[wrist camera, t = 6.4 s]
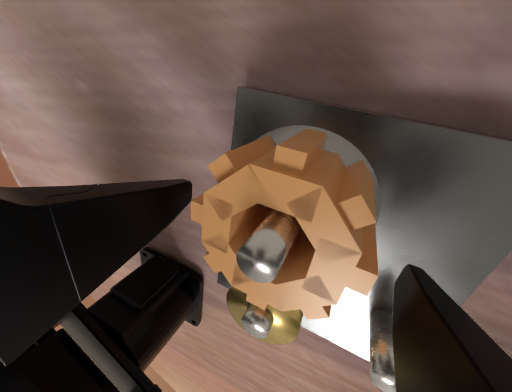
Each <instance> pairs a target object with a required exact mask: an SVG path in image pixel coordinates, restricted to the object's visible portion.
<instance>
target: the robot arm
mask: <svg viewBox="0 0 512 392" xmlns="http://www.w3.org/2000/svg"><path fill="white" fill-rule="evenodd" d="M191 199H192V183H191V182H190V181H188V180H185V179H175V180H159V181H143V182H127V183H111V184H99V185H97V184H94V185H77V186H50V187H16V188H15V187H0V392H120V391H121V392H162V390H161V389H160V388H159V387H158V385H154V384H153V383H152V381H151V380H150V379H149V378H148V377H147V376H146V375H145V374H144V371H145V369H146V368H147V367H148V366H149V365H150V363H151V362H152V361H153V360H154V358H155V357H156V356H157V355H158V353H159V352H160V351H161V350H162V348H163V347H164V346H165V345H166V343H167V342H168V341H169V340H170V338H171V337H172V336H173V335H174V333H175V332H176V331H177V330H178V329H179V327H180V326H181V325H182V324H183V322H184V321H187V322H189V323H190V324H192V325H194V326H198V325H199V323H200V322H201V309H202V292H203V278H202V277H201V276H200V275H199V274H197V273H195V272H193V271H192V270H190V269H188V268H186V267H184V266H182V265H180V264H178V263H176V262H174V261H172V260H170V259H169V258H167V257H165V256H163V255H161V254H159V253H157V252H155V251H153V250H151V249H149V248H147V247H145V248H143V247H144V246H145V245H147V244H148V243H149V242H150V241H151V240H152V239H153V238H155V237H156V236H157V235H158V234H159V233H160V232H161V231H163V230H164V229H165V228H166V227H167V226H168V225H169V224H170V223H171V222H172V221H173V220H174V219H175V218H176V217H177V216H178V215H179V214H180V213H181V212H182V210H183V209H184V208H185V207H186V206H187V205H188V204H189V203H190V201H191ZM142 248H143V249H142ZM141 249H142V250H141ZM140 250H141V251H140ZM139 251H140V254H141V262H142V265H141V266H139V267H138V268H137V269H135V270H134V271H133V272H131V273H130V274H129V275H127V276H126V277H125V278H123V279H122V280H121V281H119V282H118V283H117V284H115V285H114V286H113V287H112V288H111V289H110V292H108V293H107V294H106V295H104V296H103V297H102V298H100V299H99V300H98V301H96V302H95V303H94V304H93V305H91V306H90V307H89V308H87V309H86V307H85V306H84V305H83V304H82V303H81V301H82V300H84V299H85V298H86V297H87V296H88V295H89V294H90V293H92V292H93V291H94V290H95V289H96V288H97V287H98V286H100V285H101V284H102V283H103V282H104V281H105V280H106V279H108V278H109V277H110V276H111V275H112V274H113V273H114V272H116V271H117V270H118V269H119V268H120V267H121V266H122V265H124V264H125V263H126V262H127V261H128V260H129V259H130V258H132V257H133V256H134V255H135V254H136V253H137V252H139ZM59 324H60V325H62V326H63V328H64V329H65V330H66V331H67V332H68V333H69V334H68V333H67V332H66V331H65V330H64V329H60V330H58V331H56V330H55V329H54V328H55V327H57V326H58V325H59ZM72 338H73V339H74V340H75V341H76V342H77V343H78V344H77V343H76V342H75V341H74V340H73V339H72ZM392 340H393V355H394V369H395V383H396V392H512V359H511V358H510V357H509V356H508V355H507V354H506V353H505V352H504V351H503V350H502V349H501V348H500V347H499V346H498V345H497V344H496V343H495V342H494V341H493V340H492V339H491V338H490V337H489V336H488V335H487V334H486V333H485V332H484V331H483V330H482V328H481V327H480V326H479V325H478V324H477V323H476V322H475V321H474V320H473V319H472V318H471V317H470V316H469V315H468V314H467V313H466V312H465V311H464V310H463V309H462V308H461V307H460V306H459V305H458V304H457V303H456V302H455V301H454V300H453V299H452V298H451V297H450V296H449V295H448V294H447V293H446V292H445V291H444V290H443V289H442V288H441V287H440V286H439V285H438V284H437V283H436V282H435V281H434V280H433V279H432V278H431V277H430V276H429V275H428V274H427V273H426V272H425V271H424V270H423V269H422V268H420V267H417V266H414V265H412V264H407V265H406V266H405V267H404V269H403V270H402V272H401V273H400V275H399V276H398V278H397V279H396V281H395V284H394V295H393V312H392ZM81 348H82V349H83V350H84V351H85V352H86V353H87V354H86V353H85V352H84V351H83V350H82V349H81ZM90 358H91V359H92V360H93V361H94V362H95V363H96V364H95V363H94V362H93V361H92V360H91V359H90ZM99 368H100V369H101V370H102V371H103V372H104V373H103V372H102V371H101V370H100V369H99ZM107 377H108V378H109V379H110V380H111V381H112V382H113V383H112V382H111V381H110V380H109V379H108V378H107ZM116 387H117V388H118V389H119V390H120V391H119V390H118V389H117V388H116Z"/></svg>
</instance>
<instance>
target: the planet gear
mask: <svg viewBox="0 0 512 392" xmlns="http://www.w3.org/2000/svg"><path fill="white" fill-rule="evenodd" d="M327 134H328V133H325V132H320V131H316V130H312V129H308V128H306V129H304V130H303V131H301V132H299V133H297V134H296V135H294V136H292V137H290V138H288V139H287V140H285V141H283V142H281V143H280V144H278V145H277V146H276V147H275V145H274V143H273V142H272V140H271V138H270V137H269V135H268V136H265V137H263V138H260V139H258V140H256V141H253V142H251V143H248V144H246V145H243V146H241V147H239V148H236V149H234V150H231V151H229V152H226V153H225V154H223V155H222V156H220V157H219V158H218V159H216V160H215V161H214V162H212V163H211V164H210V165H208V167H209V169H210V171H211V172H212V174H213V175H214V177H215V178H216V180H217V181H218V184H217V185H215V186H214V187H212V188H211V189H209V190H208V191H206V192H205V193H203V194H201V195H200V196H198V197H196V198H195V199H193V200H191V220H192V221H195V222H197V223H199V224H201V225H202V238H201V242H202V244H203V245H204V247H205V248H206V249H207V251H208V252H207V253H206V254H205V255H204V256H203V257H204V259H205V260H206V262H207V263H208V264H209V266H210V267H211V269H212V270H213V272H214V273H217V272H220V271H222V273H223V274H224V276H225V277H226V279H227V280H228V282H229V283H230V284H231V286H233V287H235V288H237V289H238V290H240V291H242V292H244V293H246V294H247V297H246V301H247V302H249V303H251V304H253V305H255V306H257V307H259V308H261V309H263V310H265V309H266V307H267V305H270V306H272V307H274V308H276V309H278V310H280V311H282V312H283V311H291V310H298V309H301V311H302V312H303V314H304V316H305V317H306V319H307V320H312V319H322V318H329V316H330V310H331V305H337V303H338V301H339V299H340V297H341V295H342V293H343V291H344V289H345V287H347V288H349V289H351V290H354V291H356V292H358V293H360V294H363V295H365V296H367V295H368V293H369V292H370V290H371V288H372V287H373V285H374V283H375V282H376V280H377V278H378V276H379V274H378V258H377V243H376V227H375V223H377V219H376V206H375V193H374V180H373V177H372V175H371V173H370V171H369V169H368V168H367V166H366V164H365V162H364V160H361V161H359V162H357V163H354V164H352V165H350V166H348V167H346V166H345V164H344V162H343V161H342V159H341V157H340V155H339V154H338V153H334V152H330V151H326V150H323V147H324V144H325V141H326V137H327ZM272 209H275V210H278V211H280V212H283V213H286V214H289V215H291V216H294V217H295V218H296V219H297V221H298V222H299V224H300V226H301V227H302V229H300V230H299V232H298V234H297V236H296V238H295V240H294V242H293V244H292V246H291V248H290V250H289V252H288V254H287V256H286V258H285V260H284V262H283V264H282V266H281V268H280V270H279V272H278V274H277V276H276V278H275V279H274V280H273V281H271V282H268V283H260V282H256V281H254V280H252V279H250V278H248V277H247V276H246V275H245V274H244V273H243V272H242V271H241V270H240V268H239V266H238V264H237V260H236V256H237V252H238V251H239V249H240V248H241V247H242V246H243V244H244V243H245V242H246V241H247V239H248V238H249V237H250V236H251V235H252V233H253V232H254V231H255V230H256V229H257V227H258V226H259V225H260V224H261V222H262V221H263V220H264V219H265V218H266V216H267V215H268V214H269V213H270V212H271V210H272Z"/></svg>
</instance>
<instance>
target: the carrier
mask: <svg viewBox="0 0 512 392" xmlns="http://www.w3.org/2000/svg"><path fill="white" fill-rule="evenodd" d="M306 128H308V129H312V130H316V131H320V132H325V133H328V134H327V137H326V141H325V144H324V147H323V150H326V151H330V152H334V153H338V154H339V155H340V157H341V159H342V161H343V162H344V164H345V166H346V167H348V166H350V165H352V164H354V163H357V162H359V161H361V160H364V162H365V164H366V166H367V168H368V169H369V171H370V173H371V175H372V177H373V180H374V193H375V206H376V219H377V223H375V227H376V243H377V258H378V274H379V276H378V278H377V280H376V282H375V283H374V285H373V287H372V288H371V290H370V292H369V293H368V295H367V296H365V295H363V294H360V293H358V292H356V291H354V290H351V289H349V288H347V287H345V289H344V291H343V293H342V295H341V297H340V299H339V301H338V303H337V305H331V310H330V316H329V318H322V319H312V320H307V319H306V317H305V316H304V314H303V312H302V311H301V309H298V310H291V311H283V312H282V311H280V310H278V309H276V308H274V307H272V306H270V305H267V307H266V309H265V310H263V309H261V308H259V307H257V306H255V305H253V304H251V303H249V302H247V301H246V297H247V294H246V293H244V292H242V291H240V290H238V289H237V288H235V287H233V286H231V284H230V283H229V282H228V280H227V279H226V277H225V276H224V274H223V273H222V271H220V272H218V281H217V283H219V284H221V285H223V286H225V287H227V288H229V289H230V290H229V291H228V293H227V306H228V309H229V311H230V313H231V315H232V317H233V318H234V319H235V321H236V322H237V323H238V324H239V325H240V326H241V327H242V328H243V329H244V330H245V331H246V332H248V333H249V334H250V335H252V336H254V337H256V338H257V339H260V340H262V341H264V342H267V343H271V344H287V343H290V342H292V341H293V340H294V339H295V338H296V337H297V335H298V333H299V329H300V326H302V327H304V328H306V329H308V330H310V331H311V332H313V333H315V334H317V335H319V336H321V337H323V338H325V339H327V340H329V341H331V342H333V343H335V344H337V345H338V346H340V347H342V348H344V349H346V350H348V351H350V352H352V353H354V354H356V355H358V356H360V357H362V358H363V359H365V360H367V361H369V362H370V379H371V381H372V383H373V384H374V385H375V386H376V387H377V388H379V389H380V390H382V391H384V392H396V383H395V369H394V355H393V340H392V312H393V295H394V284H395V281H396V279H397V278H398V276H399V275H400V273H401V272H402V270H403V269H404V267H405V266H406V265H407V264H412V265H414V266H417V267H420V268H422V269H423V270H424V271H425V272H426V273H427V274H428V275H429V276H430V277H431V278H432V279H433V280H434V281H435V282H436V283H437V284H438V285H439V286H440V287H441V288H442V289H443V290H444V291H445V292H446V293H447V294H448V295H449V296H450V297H451V298H452V299H453V300H454V301H455V302H456V303H457V304H458V305H459V306H460V305H461V304H462V303H463V302H464V301H465V300H466V299H467V298H468V297H469V296H470V295H471V294H472V292H473V291H474V290H475V289H476V288H477V287H478V286H479V285H480V284H481V283H482V282H483V281H484V279H485V278H486V277H487V276H488V275H489V274H490V273H491V272H492V271H493V270H494V269H495V268H496V267H497V265H498V264H499V263H500V262H501V261H502V260H503V259H504V258H505V257H506V256H507V255H508V254H509V252H510V251H511V250H512V140H510V139H505V138H500V137H495V136H490V135H485V134H480V133H475V132H470V131H465V130H460V129H455V128H450V127H445V126H440V125H435V124H430V123H425V122H420V121H415V120H410V119H405V118H400V117H394V116H389V115H384V114H379V113H374V112H369V111H364V110H359V109H354V108H349V107H344V106H339V105H334V104H329V103H324V102H319V101H314V100H309V99H304V98H299V97H294V96H289V95H284V94H279V93H274V92H268V91H263V90H258V89H253V88H248V87H238V89H237V99H236V108H235V118H234V128H233V137H232V147H231V150H234V149H236V148H239V147H241V146H243V145H246V144H248V143H251V142H253V141H256V140H258V139H260V138H263V137H265V136H268V135H269V137H270V138H271V140H272V142H273V143H274V145H275V147H276V146H277V145H278V144H280V143H281V142H283V141H285V140H287V139H288V138H290V137H292V136H294V135H296V134H297V133H299V132H301V131H303V130H304V129H306ZM300 229H302V227H301V226H300V224H299V222H298V221H297V219H296V218H295V217H294V216H291V215H289V214H286V213H283V212H280V211H278V210H275V209H272V210H271V212H270V213H269V214H268V215H267V216H266V218H265V219H264V220H263V221H262V222H261V224H260V225H259V226H258V227H257V229H256V230H255V231H254V232H253V233H252V235H251V236H250V237H249V238H248V239H247V241H246V242H245V243H244V244H243V246H242V247H241V248H240V249H239V251H238V252H237V256H236V260H237V264H238V266H239V268H240V270H241V271H242V272H243V273H244V274H245V275H246V276H247V277H248V278H250V279H252V280H254V281H256V282H260V283H268V282H271V281H273V280H274V279H275V278H276V276H277V274H278V272H279V270H280V268H281V266H282V264H283V262H284V260H285V258H286V256H287V254H288V252H289V250H290V248H291V246H292V244H293V242H294V240H295V238H296V236H297V234H298V232H299V230H300Z"/></svg>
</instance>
